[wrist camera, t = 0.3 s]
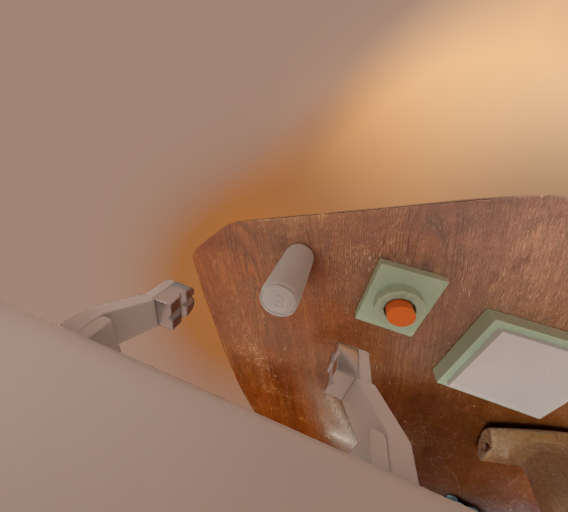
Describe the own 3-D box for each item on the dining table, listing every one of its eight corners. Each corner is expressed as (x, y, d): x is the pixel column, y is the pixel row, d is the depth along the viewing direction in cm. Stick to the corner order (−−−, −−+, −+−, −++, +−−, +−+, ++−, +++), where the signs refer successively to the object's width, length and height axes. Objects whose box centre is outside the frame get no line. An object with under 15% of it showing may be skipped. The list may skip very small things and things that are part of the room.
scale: (486, 307, 30) (499, 323, 28) (613, 344, 28) (640, 366, 25) (432, 369, 38) (438, 387, 35) (528, 403, 35) (542, 424, 33)
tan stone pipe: (594, 419, 33) (742, 589, 21) (581, 460, 38) (697, 623, 25) (472, 409, 39) (529, 536, 27) (473, 445, 44) (522, 571, 31)
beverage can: (315, 243, 33) (297, 287, 23) (314, 270, 36) (298, 320, 25) (285, 241, 35) (256, 281, 24) (286, 267, 37) (260, 314, 27)
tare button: (391, 295, 30) (393, 303, 29) (418, 303, 30) (421, 311, 28) (381, 313, 32) (382, 321, 31) (406, 321, 31) (408, 330, 30)
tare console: (379, 257, 32) (382, 269, 29) (445, 276, 30) (455, 290, 27) (354, 311, 37) (354, 326, 34) (409, 329, 36) (414, 346, 33)
